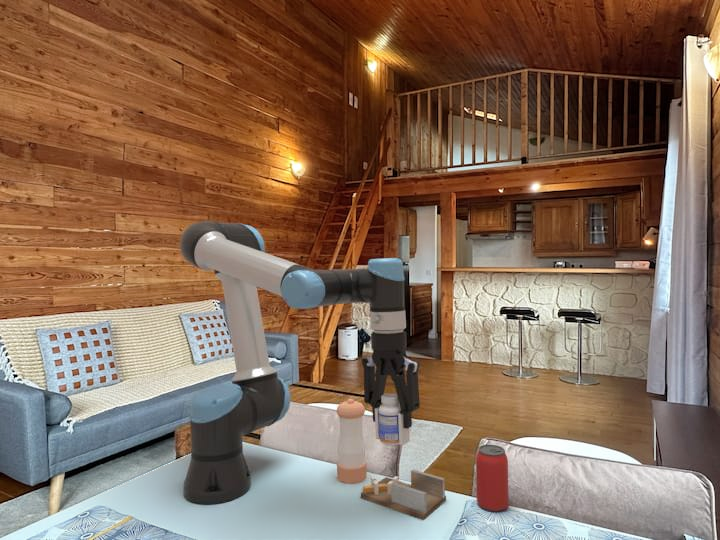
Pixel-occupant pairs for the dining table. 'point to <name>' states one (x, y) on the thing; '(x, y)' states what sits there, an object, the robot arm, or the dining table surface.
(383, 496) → the board
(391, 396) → the pill bottle
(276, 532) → the dining table surface
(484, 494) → the beer can
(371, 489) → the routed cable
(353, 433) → the pepper shaker
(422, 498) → the end holder
